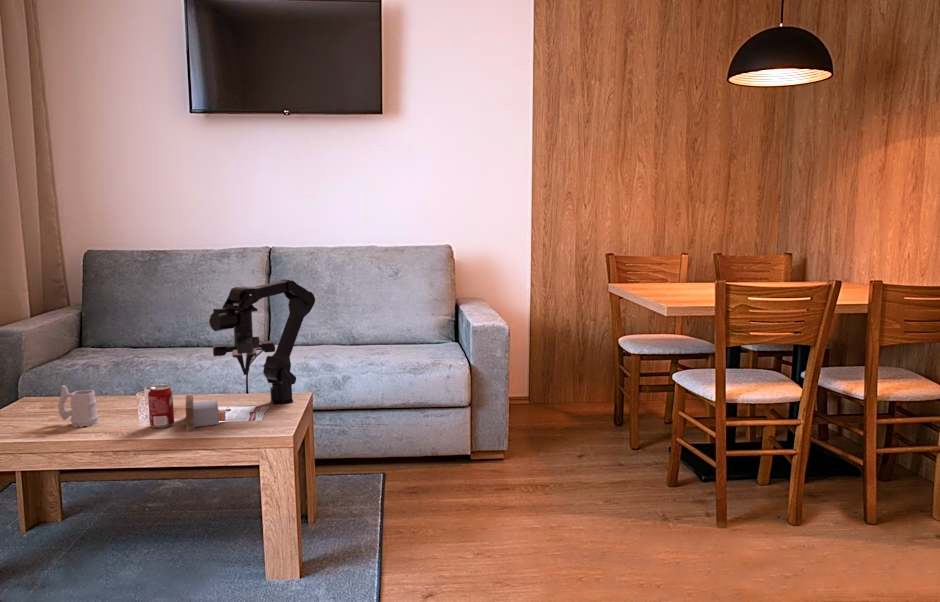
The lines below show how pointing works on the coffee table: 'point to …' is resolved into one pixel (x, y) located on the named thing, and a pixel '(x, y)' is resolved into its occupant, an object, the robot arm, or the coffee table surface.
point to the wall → (189, 413)
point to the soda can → (161, 406)
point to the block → (205, 413)
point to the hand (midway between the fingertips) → (245, 374)
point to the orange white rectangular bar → (221, 415)
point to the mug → (79, 407)
